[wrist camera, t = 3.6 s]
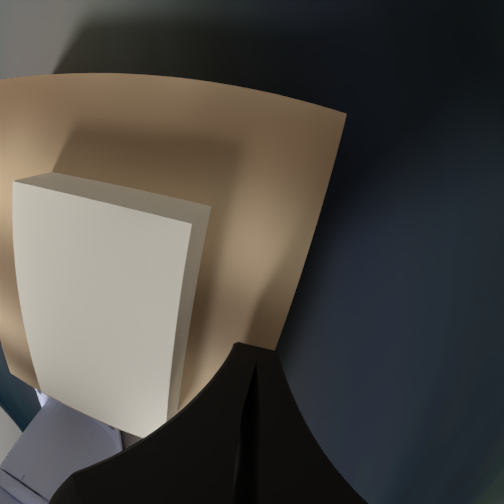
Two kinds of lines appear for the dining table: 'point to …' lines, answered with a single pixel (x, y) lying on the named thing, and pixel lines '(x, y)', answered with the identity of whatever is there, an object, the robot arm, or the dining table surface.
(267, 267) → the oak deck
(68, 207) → the cream tile
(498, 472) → the dining table surface
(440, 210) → the dining table surface
